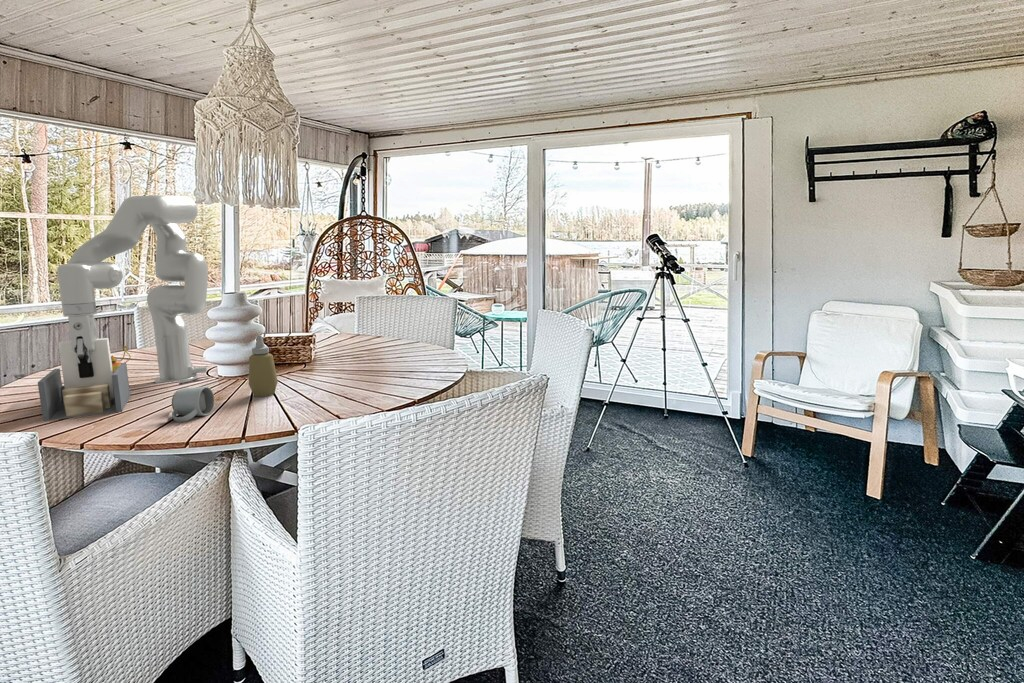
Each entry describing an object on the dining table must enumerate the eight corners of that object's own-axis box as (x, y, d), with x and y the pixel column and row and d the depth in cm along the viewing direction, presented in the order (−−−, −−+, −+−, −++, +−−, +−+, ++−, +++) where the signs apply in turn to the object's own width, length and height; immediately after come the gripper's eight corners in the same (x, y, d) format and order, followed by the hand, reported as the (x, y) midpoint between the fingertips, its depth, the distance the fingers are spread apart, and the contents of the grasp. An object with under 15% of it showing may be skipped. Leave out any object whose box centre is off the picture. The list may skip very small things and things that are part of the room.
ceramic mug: (187, 411, 167) (183, 383, 166) (216, 410, 167) (213, 383, 165) (163, 423, 157) (159, 394, 155) (194, 423, 156) (191, 394, 155)
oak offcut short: (104, 409, 165) (102, 391, 164) (103, 412, 162) (100, 393, 161) (69, 413, 161) (66, 394, 160) (66, 416, 158) (63, 397, 158)
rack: (131, 401, 178) (126, 362, 176) (122, 417, 162) (117, 374, 160) (60, 409, 171) (54, 368, 169) (44, 426, 155) (37, 382, 153)
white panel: (116, 400, 174) (108, 337, 171) (115, 402, 171) (106, 339, 168) (69, 405, 169) (60, 341, 166) (67, 408, 166) (58, 342, 163)
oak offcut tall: (111, 405, 169) (108, 384, 168) (109, 407, 166) (107, 386, 165) (67, 410, 164) (64, 388, 163) (65, 412, 162) (62, 390, 161)
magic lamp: (89, 374, 215) (85, 343, 214) (139, 374, 215) (135, 343, 213) (75, 379, 209) (70, 347, 207) (126, 378, 208) (122, 346, 206)
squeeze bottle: (284, 392, 186) (279, 333, 183) (265, 398, 178) (260, 338, 175) (262, 390, 189) (257, 332, 186) (243, 397, 181) (238, 337, 178)
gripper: (90, 312, 160) (99, 380, 163) (101, 305, 175) (109, 368, 178) (55, 314, 156) (65, 383, 160) (69, 307, 171) (78, 371, 175)
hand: (88, 374), depth 169 cm, fingers open, 4 cm apart
